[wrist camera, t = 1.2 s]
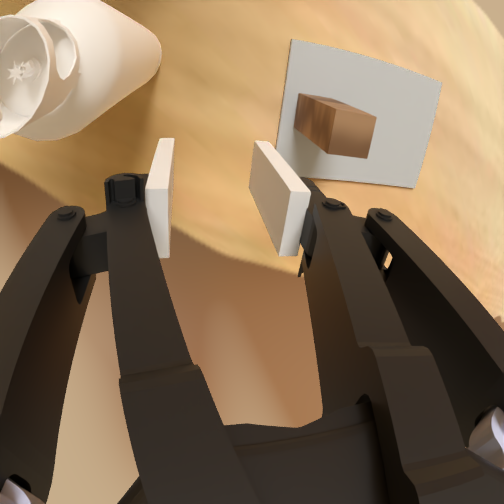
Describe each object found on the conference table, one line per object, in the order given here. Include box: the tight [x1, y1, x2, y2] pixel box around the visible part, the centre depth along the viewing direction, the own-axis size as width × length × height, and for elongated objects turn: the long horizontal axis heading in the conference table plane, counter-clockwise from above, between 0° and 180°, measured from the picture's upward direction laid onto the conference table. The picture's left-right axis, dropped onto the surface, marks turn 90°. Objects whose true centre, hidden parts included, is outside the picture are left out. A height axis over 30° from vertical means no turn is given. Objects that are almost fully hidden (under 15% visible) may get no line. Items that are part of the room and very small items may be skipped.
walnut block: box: [293, 93, 377, 159], centre depth 33 cm, size 4×4×11 cm
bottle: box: [0, 0, 162, 141], centre depth 18 cm, size 8×8×28 cm
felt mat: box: [275, 39, 442, 188], centre depth 39 cm, size 18×24×1 cm
